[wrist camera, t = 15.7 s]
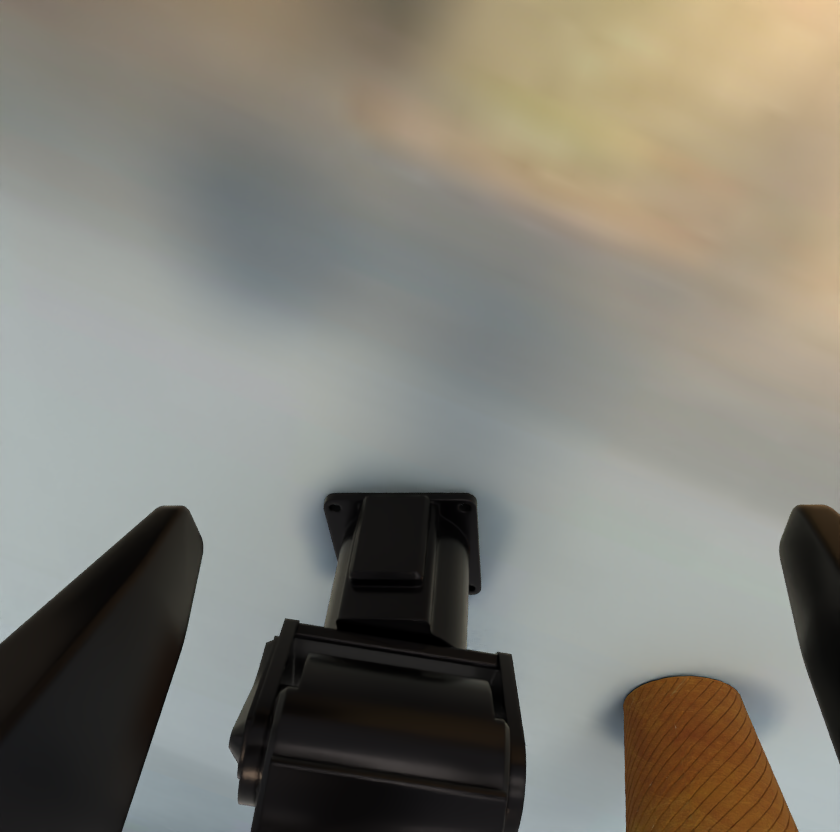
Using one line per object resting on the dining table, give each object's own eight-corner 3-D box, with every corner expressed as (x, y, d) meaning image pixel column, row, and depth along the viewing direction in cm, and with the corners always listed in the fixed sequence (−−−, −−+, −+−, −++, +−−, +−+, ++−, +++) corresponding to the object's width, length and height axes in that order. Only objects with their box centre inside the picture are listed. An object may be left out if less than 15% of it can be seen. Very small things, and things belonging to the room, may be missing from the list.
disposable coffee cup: (692, 636, 34) (766, 931, 25) (810, 704, 37) (915, 988, 28) (558, 704, 39) (578, 967, 30) (671, 758, 42) (721, 1011, 33)
